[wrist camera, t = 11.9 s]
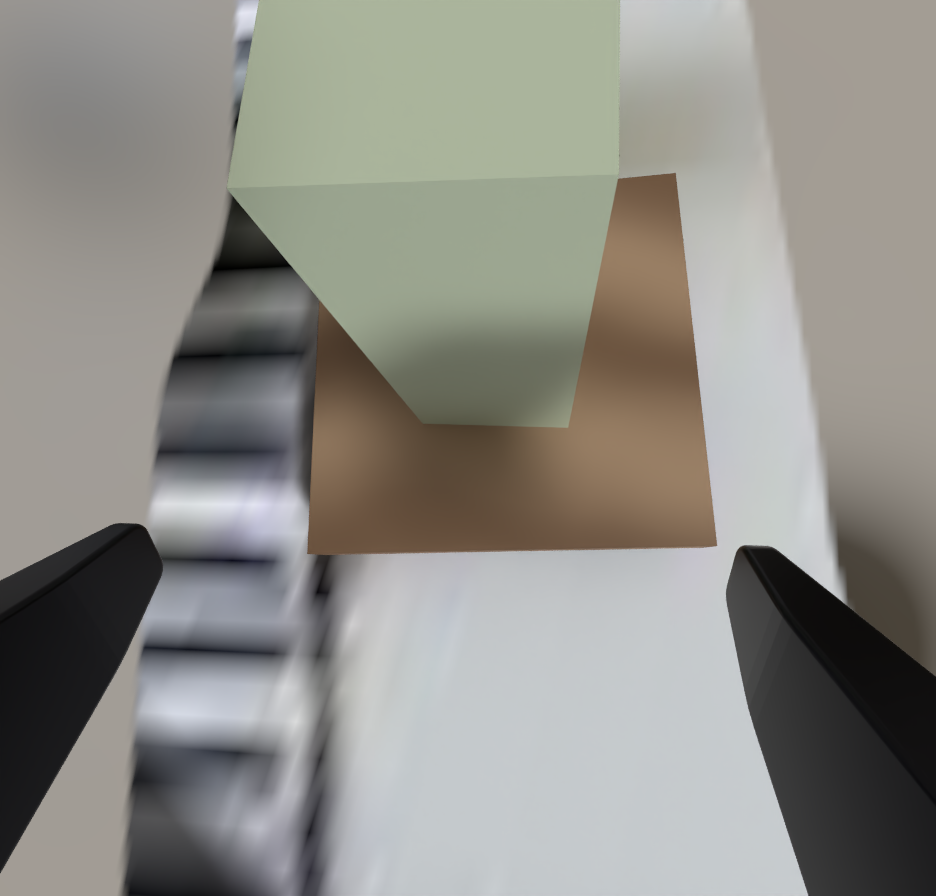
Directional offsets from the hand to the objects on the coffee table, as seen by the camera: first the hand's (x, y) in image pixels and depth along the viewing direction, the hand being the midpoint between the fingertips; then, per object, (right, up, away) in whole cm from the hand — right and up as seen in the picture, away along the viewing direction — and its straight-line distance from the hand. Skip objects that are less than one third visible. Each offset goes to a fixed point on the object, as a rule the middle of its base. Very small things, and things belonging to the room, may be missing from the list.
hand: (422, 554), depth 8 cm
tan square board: (+2, +4, +12) cm, 13 cm away
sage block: (+2, +5, +9) cm, 10 cm away
